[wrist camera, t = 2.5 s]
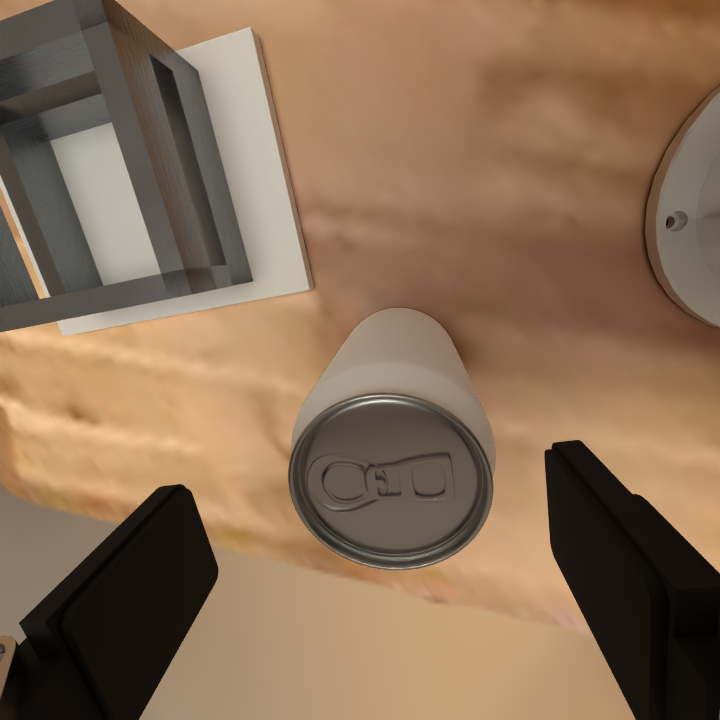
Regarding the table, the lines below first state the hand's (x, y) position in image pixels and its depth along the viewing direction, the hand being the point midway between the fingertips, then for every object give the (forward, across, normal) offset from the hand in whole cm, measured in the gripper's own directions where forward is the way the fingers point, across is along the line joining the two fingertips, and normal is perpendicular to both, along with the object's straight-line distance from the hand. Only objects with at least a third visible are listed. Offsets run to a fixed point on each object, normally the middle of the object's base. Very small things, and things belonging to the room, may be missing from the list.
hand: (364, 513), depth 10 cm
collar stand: (+13, +11, -11) cm, 20 cm away
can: (+13, -1, 0) cm, 13 cm away
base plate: (+13, +11, -11) cm, 20 cm away
